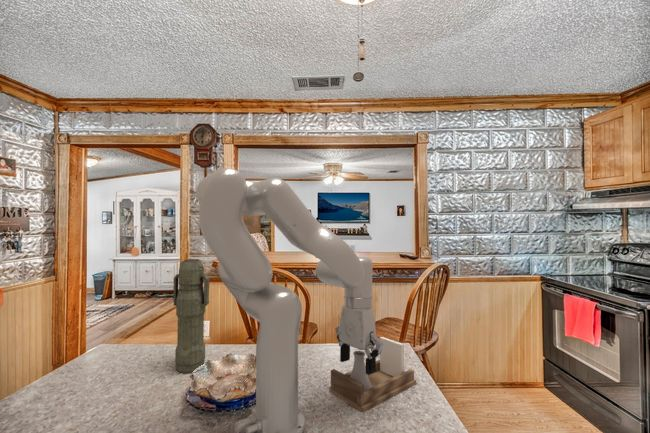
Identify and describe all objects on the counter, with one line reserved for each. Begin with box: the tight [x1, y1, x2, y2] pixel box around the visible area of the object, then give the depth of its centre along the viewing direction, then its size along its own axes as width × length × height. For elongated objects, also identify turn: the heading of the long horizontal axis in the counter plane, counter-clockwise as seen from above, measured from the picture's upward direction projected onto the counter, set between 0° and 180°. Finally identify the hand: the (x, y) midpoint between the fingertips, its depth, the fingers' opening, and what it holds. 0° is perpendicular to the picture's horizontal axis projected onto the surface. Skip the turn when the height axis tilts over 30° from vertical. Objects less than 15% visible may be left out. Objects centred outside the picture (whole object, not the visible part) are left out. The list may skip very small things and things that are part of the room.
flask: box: [350, 350, 372, 391], centre depth 85 cm, size 7×7×10 cm
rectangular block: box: [378, 336, 405, 377], centre depth 93 cm, size 1×8×10 cm, turn 39°
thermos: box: [172, 258, 210, 375], centre depth 102 cm, size 9×12×35 cm
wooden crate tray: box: [328, 359, 417, 413], centre depth 88 cm, size 22×13×6 cm, turn 129°
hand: (357, 366), depth 84 cm, fingers open, 9 cm apart
